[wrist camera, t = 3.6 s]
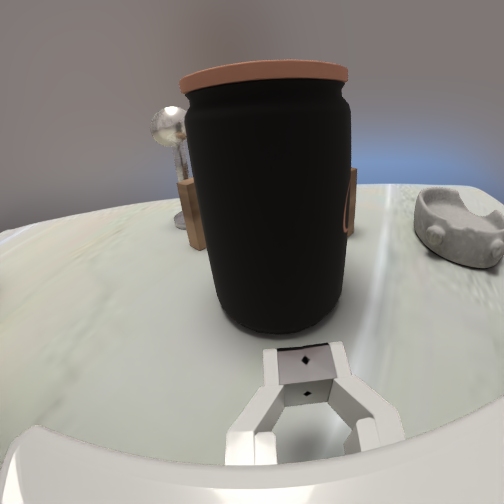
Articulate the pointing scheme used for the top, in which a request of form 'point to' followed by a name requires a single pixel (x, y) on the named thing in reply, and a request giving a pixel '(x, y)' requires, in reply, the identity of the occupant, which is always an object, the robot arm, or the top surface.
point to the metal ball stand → (173, 143)
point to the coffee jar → (272, 186)
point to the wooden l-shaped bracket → (194, 218)
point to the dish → (458, 229)
